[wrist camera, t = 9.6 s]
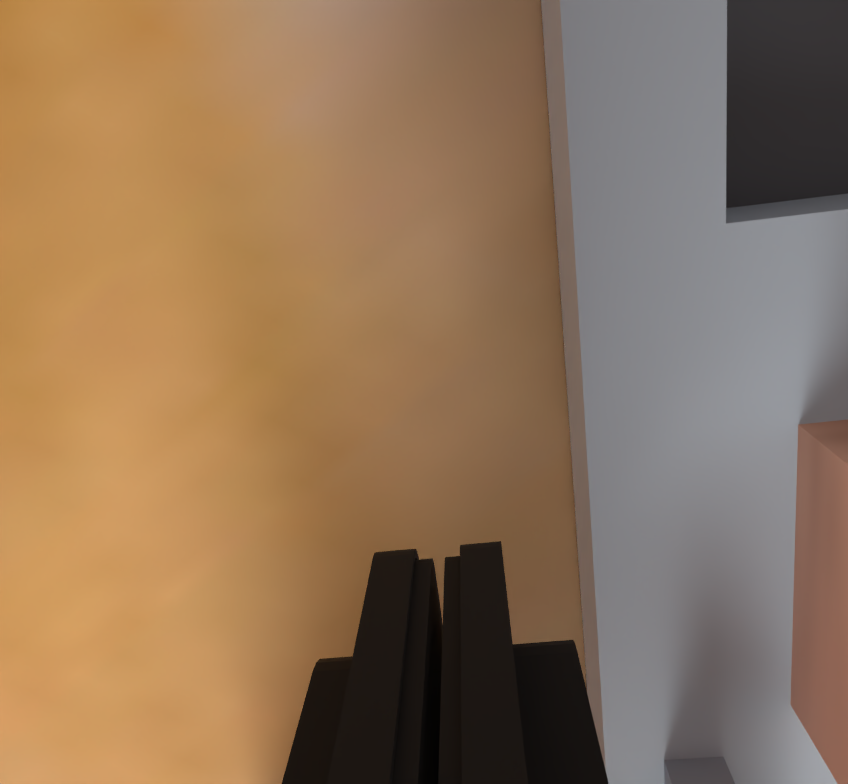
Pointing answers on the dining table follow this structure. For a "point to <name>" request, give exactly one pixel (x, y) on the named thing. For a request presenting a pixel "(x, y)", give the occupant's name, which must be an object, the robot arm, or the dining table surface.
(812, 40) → the grey slotted base plate
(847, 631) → the block
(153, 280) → the dining table surface
